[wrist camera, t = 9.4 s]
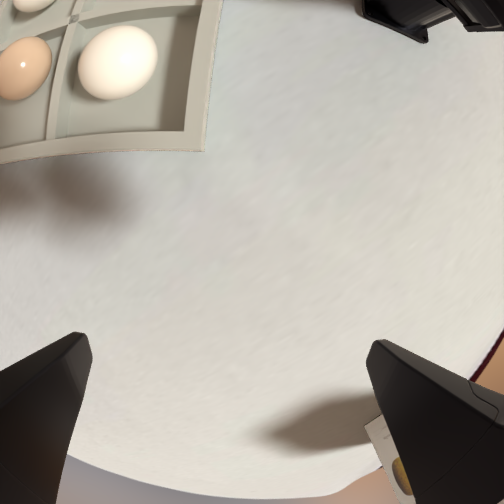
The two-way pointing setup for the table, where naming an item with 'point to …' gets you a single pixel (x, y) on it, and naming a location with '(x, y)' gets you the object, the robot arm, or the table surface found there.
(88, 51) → the egg
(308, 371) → the table surface
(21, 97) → the brown egg
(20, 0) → the egg
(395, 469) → the supplement box
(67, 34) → the carton
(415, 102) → the table surface
